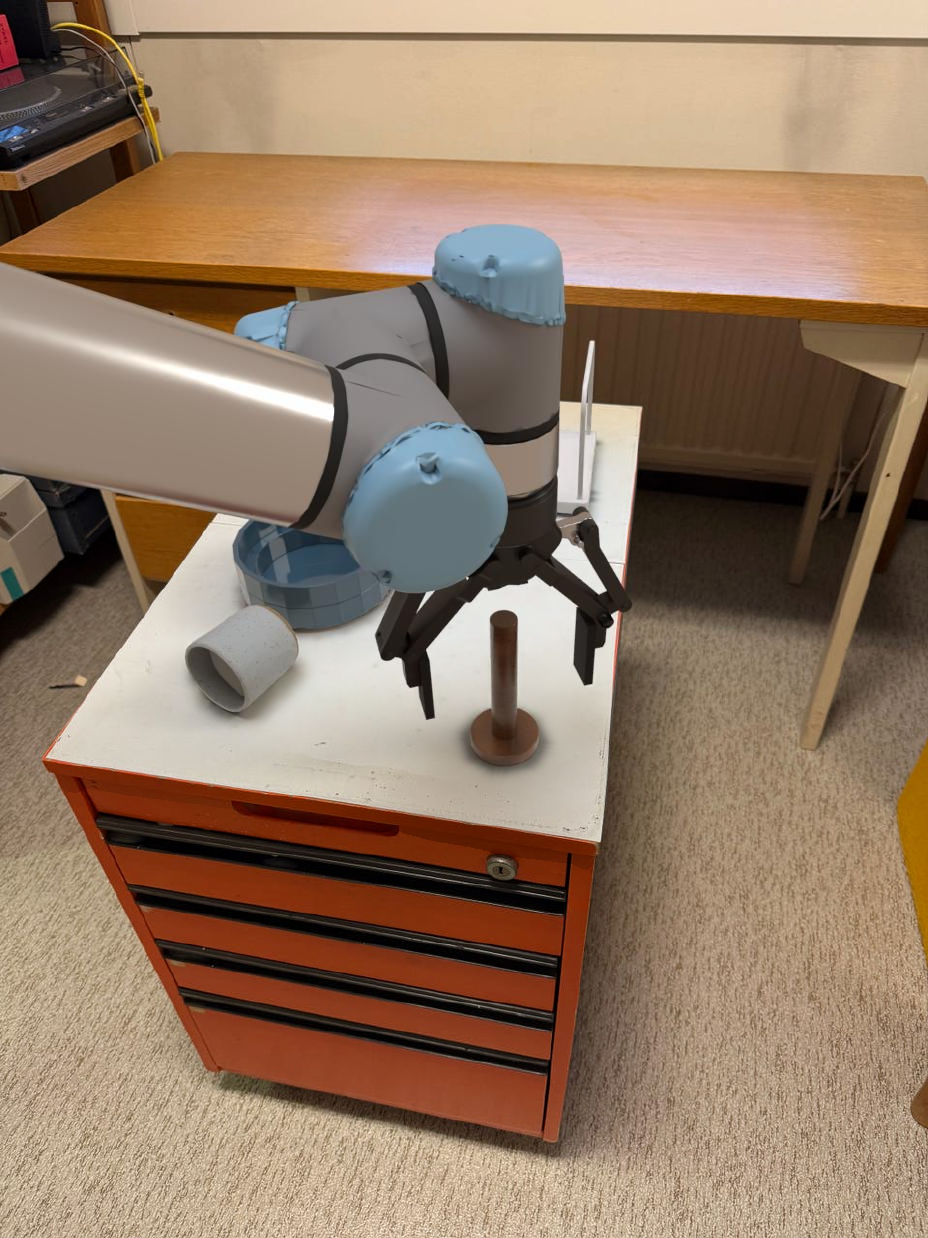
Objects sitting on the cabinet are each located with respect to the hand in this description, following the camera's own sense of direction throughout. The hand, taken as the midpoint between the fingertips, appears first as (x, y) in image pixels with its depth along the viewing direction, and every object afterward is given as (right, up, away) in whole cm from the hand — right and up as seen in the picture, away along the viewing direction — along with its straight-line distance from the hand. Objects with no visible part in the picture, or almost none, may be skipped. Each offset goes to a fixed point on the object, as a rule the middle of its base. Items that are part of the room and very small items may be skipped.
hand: (506, 691), depth 74 cm
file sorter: (0, +24, +38) cm, 45 cm away
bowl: (-19, +10, +22) cm, 31 cm away
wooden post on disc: (0, -5, +4) cm, 6 cm away
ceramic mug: (-25, 0, +11) cm, 27 cm away
